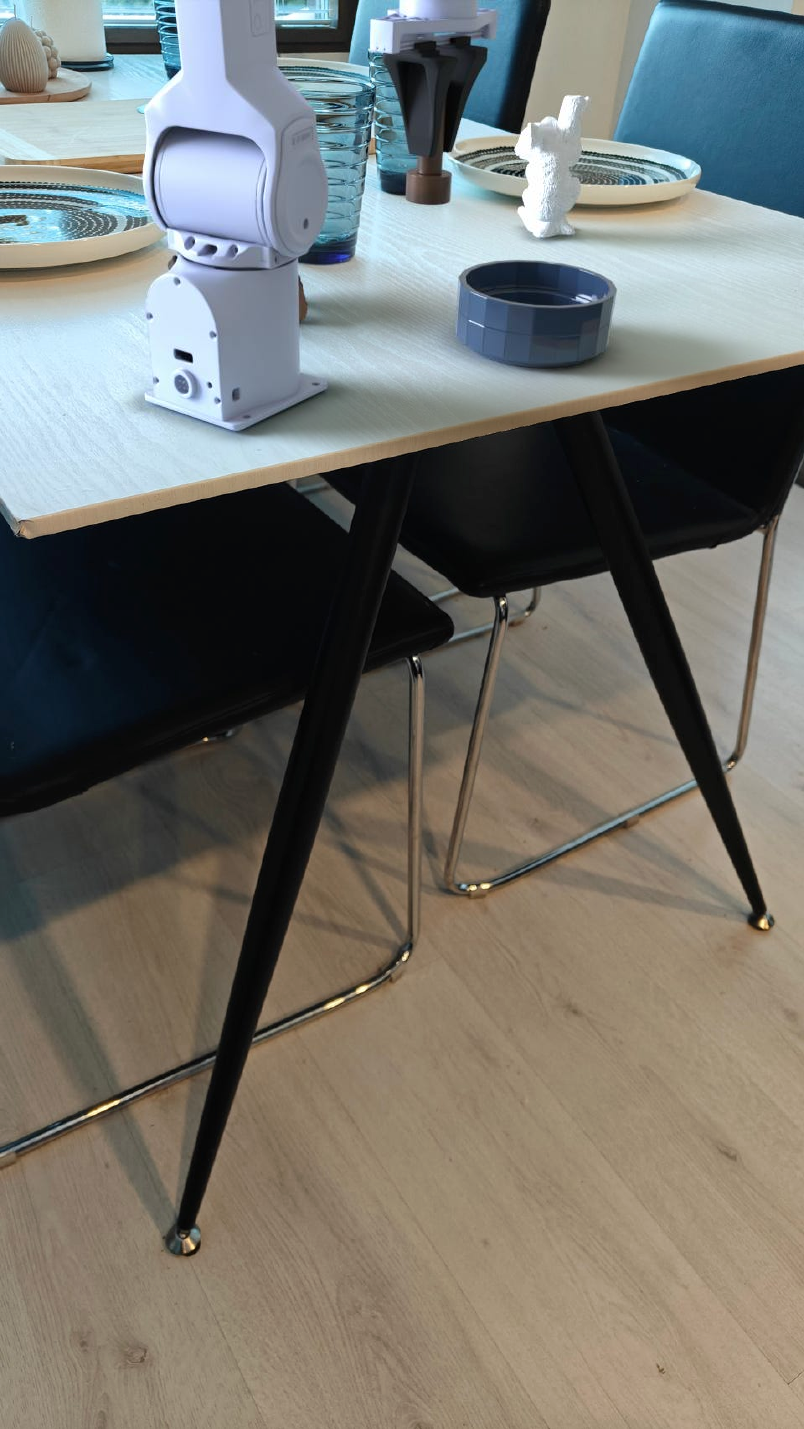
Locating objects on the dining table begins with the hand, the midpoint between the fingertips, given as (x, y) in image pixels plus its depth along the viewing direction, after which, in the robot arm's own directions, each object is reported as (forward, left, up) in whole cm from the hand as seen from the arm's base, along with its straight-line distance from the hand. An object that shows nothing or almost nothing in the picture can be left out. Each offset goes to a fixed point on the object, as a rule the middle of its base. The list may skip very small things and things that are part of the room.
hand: (430, 153), depth 86 cm
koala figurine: (+23, 0, -10) cm, 25 cm away
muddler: (0, 0, -3) cm, 3 cm away
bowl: (-6, -14, -10) cm, 18 cm away
